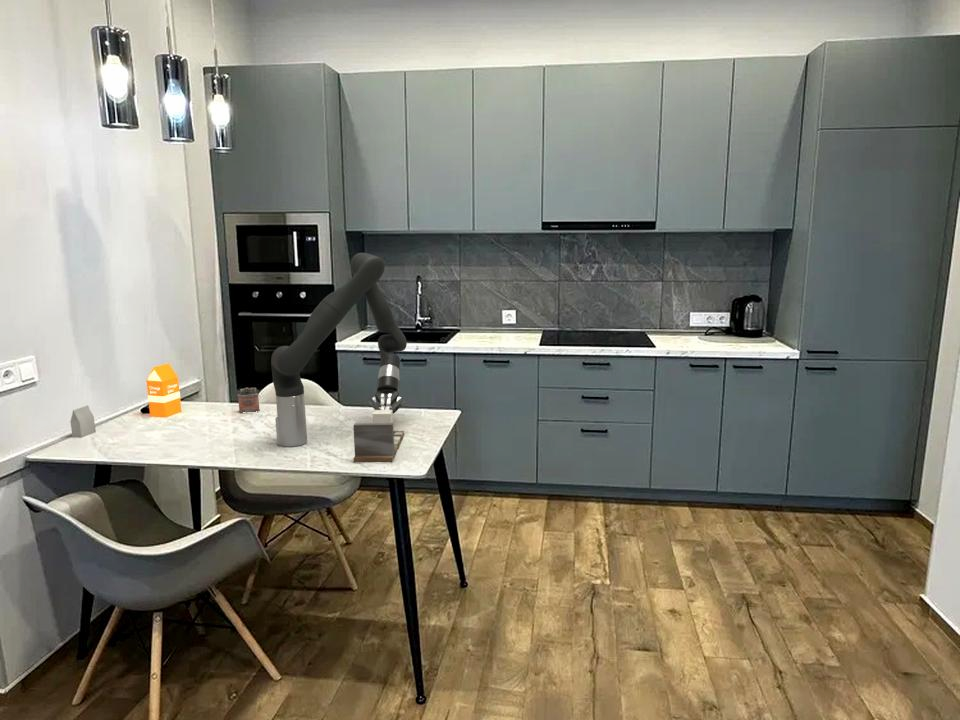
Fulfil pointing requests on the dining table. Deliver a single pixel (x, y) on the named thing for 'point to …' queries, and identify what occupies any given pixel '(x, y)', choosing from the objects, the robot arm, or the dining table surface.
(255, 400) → the red container
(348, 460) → the dining table surface
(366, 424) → the base
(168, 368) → the orange juice
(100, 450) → the dining table surface
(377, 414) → the block
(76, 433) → the grey house block
